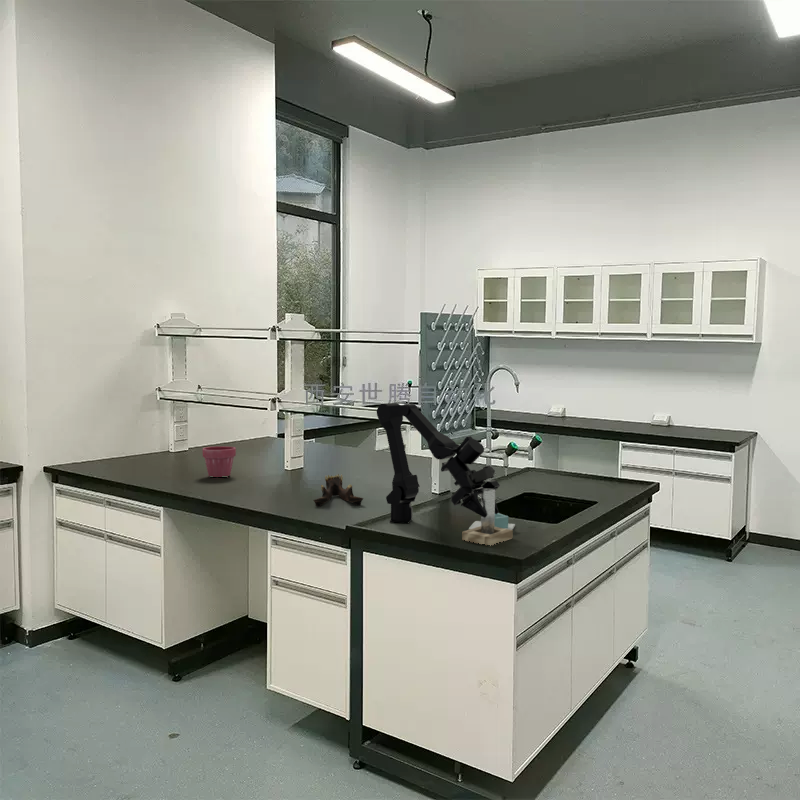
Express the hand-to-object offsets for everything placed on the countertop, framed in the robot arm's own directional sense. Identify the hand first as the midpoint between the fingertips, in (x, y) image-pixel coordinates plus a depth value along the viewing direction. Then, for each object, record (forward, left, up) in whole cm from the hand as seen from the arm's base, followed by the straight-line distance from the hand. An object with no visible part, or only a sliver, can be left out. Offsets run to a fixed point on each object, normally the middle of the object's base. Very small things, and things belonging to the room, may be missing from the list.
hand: (491, 514), depth 217 cm
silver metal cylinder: (-1, +1, -8) cm, 8 cm away
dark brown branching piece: (-57, +47, -8) cm, 74 cm away
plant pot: (-121, +87, -8) cm, 149 cm away
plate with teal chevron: (0, +15, -8) cm, 17 cm away
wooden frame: (-1, +1, -8) cm, 8 cm away
